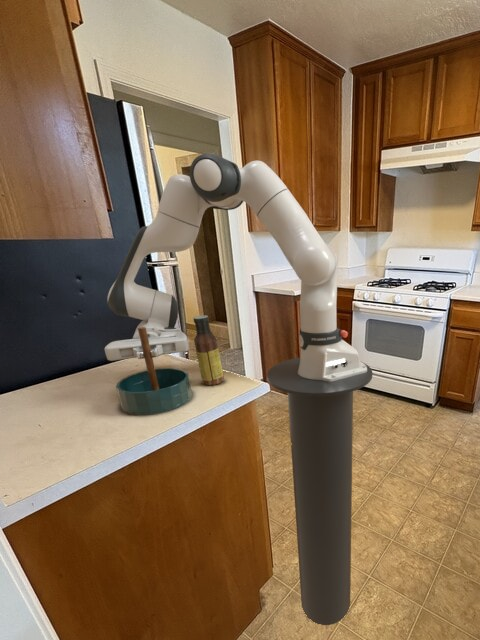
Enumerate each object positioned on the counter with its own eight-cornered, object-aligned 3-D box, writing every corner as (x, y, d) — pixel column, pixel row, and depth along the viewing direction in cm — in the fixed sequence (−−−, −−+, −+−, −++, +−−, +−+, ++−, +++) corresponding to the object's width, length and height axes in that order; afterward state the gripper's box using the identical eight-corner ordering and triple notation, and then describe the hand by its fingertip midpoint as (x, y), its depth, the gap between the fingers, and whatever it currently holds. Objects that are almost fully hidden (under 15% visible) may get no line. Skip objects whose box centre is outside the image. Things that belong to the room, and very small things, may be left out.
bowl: (190, 383, 105) (186, 364, 103) (193, 407, 90) (189, 385, 88) (125, 393, 99) (120, 373, 97) (118, 420, 84) (111, 397, 82)
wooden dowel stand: (168, 392, 98) (153, 324, 90) (167, 400, 93) (152, 328, 86) (147, 396, 96) (131, 326, 88) (146, 403, 91) (128, 331, 84)
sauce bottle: (224, 377, 109) (215, 313, 102) (224, 384, 104) (214, 317, 96) (202, 379, 108) (191, 315, 100) (200, 387, 102) (189, 319, 95)
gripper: (106, 334, 96) (97, 348, 84) (185, 326, 103) (187, 338, 91) (111, 356, 98) (104, 372, 87) (189, 347, 105) (191, 361, 94)
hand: (147, 355), depth 89 cm, fingers closed on wooden dowel stand, 2 cm apart
